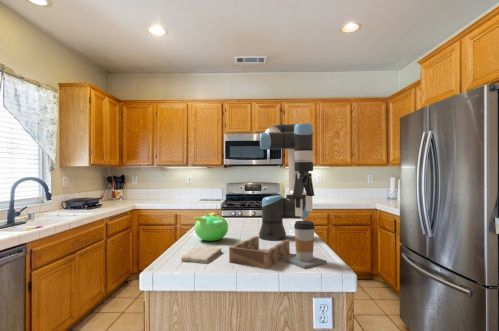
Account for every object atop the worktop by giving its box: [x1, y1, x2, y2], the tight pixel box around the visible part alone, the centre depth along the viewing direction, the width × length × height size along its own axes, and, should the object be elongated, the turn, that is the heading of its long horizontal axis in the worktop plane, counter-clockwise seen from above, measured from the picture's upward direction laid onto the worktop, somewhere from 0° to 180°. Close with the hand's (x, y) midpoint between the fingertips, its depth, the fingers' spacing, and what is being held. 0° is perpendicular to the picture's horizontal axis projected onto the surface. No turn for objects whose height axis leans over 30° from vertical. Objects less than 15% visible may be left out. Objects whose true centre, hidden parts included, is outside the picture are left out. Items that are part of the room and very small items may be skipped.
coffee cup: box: [293, 220, 316, 262], centre depth 115 cm, size 8×8×15 cm
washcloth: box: [180, 246, 223, 264], centre depth 123 cm, size 12×18×3 cm, turn 166°
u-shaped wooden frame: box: [228, 235, 291, 270], centre depth 121 cm, size 24×17×6 cm
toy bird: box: [193, 212, 229, 242], centre depth 153 cm, size 18×17×15 cm
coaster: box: [283, 255, 328, 269], centre depth 114 cm, size 12×12×1 cm
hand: (304, 213), depth 115 cm, fingers open, 13 cm apart
